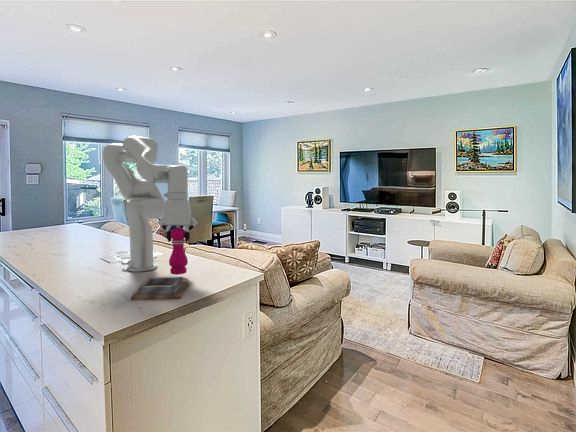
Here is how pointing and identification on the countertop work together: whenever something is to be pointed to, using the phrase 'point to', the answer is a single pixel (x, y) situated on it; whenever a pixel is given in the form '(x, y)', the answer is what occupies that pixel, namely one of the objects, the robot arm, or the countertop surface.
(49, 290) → the countertop surface
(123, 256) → the tray
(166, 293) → the mill stand
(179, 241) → the pepper mill
